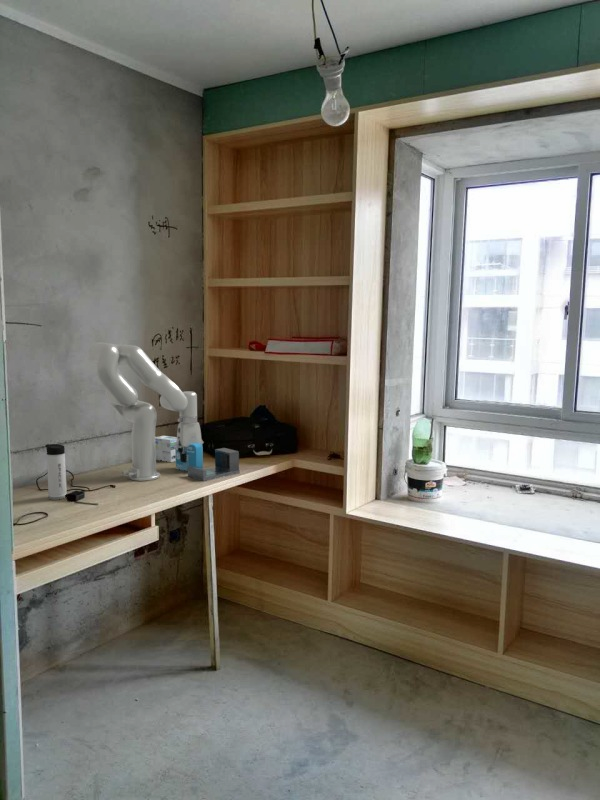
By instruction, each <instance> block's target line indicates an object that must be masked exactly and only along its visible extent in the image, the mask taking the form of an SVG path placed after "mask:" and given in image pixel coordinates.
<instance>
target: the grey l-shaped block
mask: <svg viewBox="0 0 600 800" xmlns="http://www.w3.org/2000/svg"><path fill="white" fill-rule="evenodd" d="M214 451H215V452H214V462H215V463H214V466H215V467H209V468H206V469H205V468H203V469H202V468H198V467H195V466H192V465H189V466H188V471H187V477H189V478H192V479H195V480H198V479H199V481H201V480H202V482H207V481H211V480H215V478H216V479H219V478H220V477H221V478H224V477H223V476H225V477H229V476H228V475H230V476H233V475H239V474H240V473H241V470H240V453H239V452H240V451H238V450H234V449H231V448H226V447H222V448H215V449H214Z"/></svg>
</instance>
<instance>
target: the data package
mask: <svg viewBox="0 0 600 800" xmlns="http://www.w3.org/2000/svg"><path fill="white" fill-rule="evenodd" d="M179 448H180V446H179ZM203 449H204V448H203V444H202V445H201V444H200V443H195V444H190V445H189V447H186V450H185V454H186V463H183V462H181V460H180V453H179V451H178V450H177V449H175V455H176V461H175V467H176V469H177V470H179V469H180V471H184V470H185V472H188V466H189V465H192V466H195V467H198V468H202V469H204V463H203V462H204V457H203V453H204V451H203Z"/></svg>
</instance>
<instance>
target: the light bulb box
mask: <svg viewBox="0 0 600 800" xmlns="http://www.w3.org/2000/svg"><path fill="white" fill-rule="evenodd" d="M176 442H177V436H169V435H161V436H155V447H156V461H160V460H162V461H161V462H166V461H167V462H168V463H175V462H176V455H175V448H174V445H175V443H176ZM167 462H166V463H167Z"/></svg>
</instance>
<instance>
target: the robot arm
mask: <svg viewBox="0 0 600 800" xmlns="http://www.w3.org/2000/svg"><path fill="white" fill-rule="evenodd" d="M87 354H88V355H87V356H88V358H89V359H90V360H91V361H92V363H94V364H95V363H96V376H97V379H98V381H99V382H100V384H101V385H102V386H103V387H104V389H105V396H106V399H107V401H108V402H109V404H110V405H111V406H112V407H113V409H115V410H116V411H117V412H118V413H119V414H120V415H121V416H122V417H123V418H124V419H125V420H126V421H128V422H130V423H133V424H132V429H131V458H132V460H131V462H132V463H131V464H132V465H131V466H130V468H129V469H128V470H124V471H123V470H122V471H121V476H122V477H125V476H128V479H129V480H132V481H138V482H140V481H141V482H142V481H153V480H156V479H158V478H161V473H160V472H159V471H157V460H156V447H155V437H156V426H157V424H156V423H157V419H158V413H157V409H156V408H155V406H154V405H152V404H151V403H149V402H146V401H142V400H139V394H138V392H137V389H136V388H135V387H134V386H133V384H131V383H130V382H129V381H128V379H127V378H126V377H125V376H124V374H123V373H122V372H121V371H120V370H119V367H118V365H119V366H120V365H121V366H127V367H128V368H129V369H130V370H131V371H132V372H133V373H134V375H136V377H137V378H138V380H140V381H141V383H142V384H143V385H145V386H146V387H148V388H149V389H152V390H153V391H155V392H156V393H158V394H159V395H161V396H160V397H159V404H160V406H161V407H162V408H164V409H165V410H169V411H173V412H178V413H179V416H178V417H179V418H177V422H178V425H177V431H176V432H177V433H176V437H177V442H176V443H175V445H174V448H175V449H177V450H178V451H179V453H180V460H181V462H183V463H186V454H185V450H186V447H189V445H190V444H195V443H200V444H201V445H202V446H203V444H204V443H205V442H204V441H203V439H202V431H201V426H200V422H198V394H197V393H196V392H195V391H187V390H185V391H182V390H181V388H180V387H179V386H178V385H177V384H176V383H175V382H174V381H172V380H171V379H170V378H169V377H168V376H167V375H166V374H165V373H163V372H162V371H161V370H160V369H159V368H158V366H156V364H155V363H154V362H153V361H152V360H151V359H150V357H149V355H148V354H147V353H146V352H145V351H144V350H143V349H142V348H141V347H139V346H137V345H133V344H132V345H131V344H118V343H117V344H116V343H109V342H99V341H98V342H93V343H92V344H91V345H90V346H89V347H88V350H87ZM179 446H180V448H179Z"/></svg>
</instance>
